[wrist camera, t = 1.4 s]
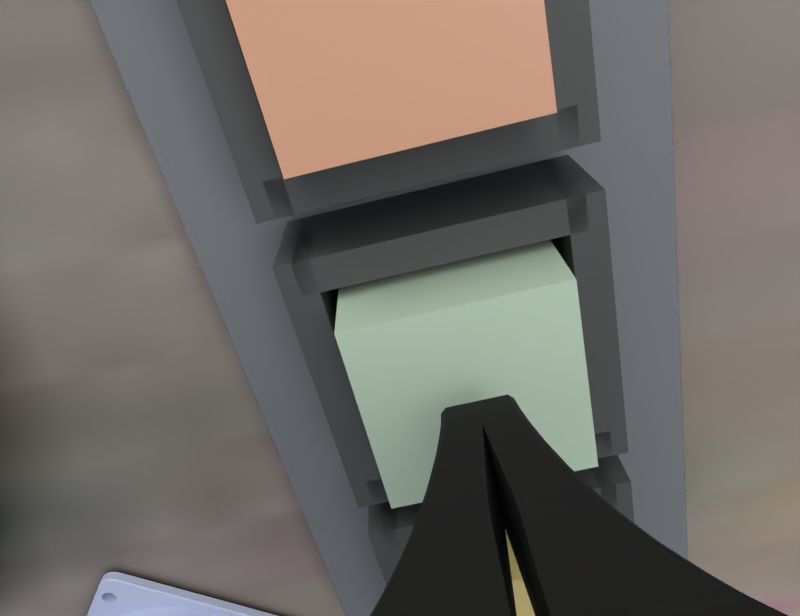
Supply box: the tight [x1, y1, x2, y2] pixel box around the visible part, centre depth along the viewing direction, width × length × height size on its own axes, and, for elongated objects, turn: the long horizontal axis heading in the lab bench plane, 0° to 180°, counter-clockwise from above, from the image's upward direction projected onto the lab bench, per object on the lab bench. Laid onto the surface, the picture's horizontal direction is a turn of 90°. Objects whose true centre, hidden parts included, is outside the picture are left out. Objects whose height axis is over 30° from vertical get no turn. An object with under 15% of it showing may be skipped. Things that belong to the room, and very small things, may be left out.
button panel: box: [90, 0, 688, 616], centre depth 17 cm, size 24×12×5 cm, turn 13°
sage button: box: [334, 240, 598, 509], centre depth 15 cm, size 5×5×2 cm
